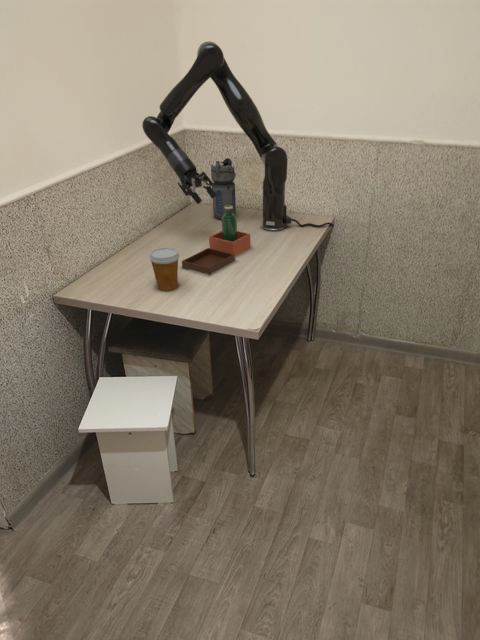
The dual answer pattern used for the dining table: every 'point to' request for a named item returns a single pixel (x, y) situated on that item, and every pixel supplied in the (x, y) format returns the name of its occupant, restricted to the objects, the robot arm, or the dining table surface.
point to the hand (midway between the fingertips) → (207, 199)
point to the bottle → (229, 225)
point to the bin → (230, 243)
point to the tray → (208, 261)
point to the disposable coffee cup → (165, 267)
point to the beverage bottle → (223, 187)
